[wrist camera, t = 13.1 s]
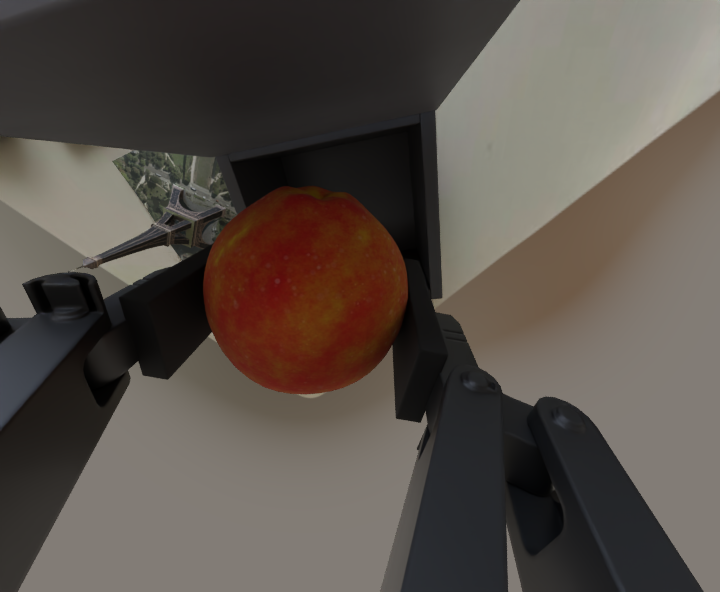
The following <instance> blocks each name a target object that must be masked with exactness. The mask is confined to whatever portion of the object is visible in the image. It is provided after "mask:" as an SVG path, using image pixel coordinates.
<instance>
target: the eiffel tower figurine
mask: <svg viewBox="0 0 720 592" xmlns="http://www.w3.org/2000/svg"><path fill="white" fill-rule="evenodd" d="M112 162H113V163H114V164H115V166H116V167H117V168H118V170H119V171H120V172H121V174H122V175H123V176H124V178H125V179H126V181H127V182H128V183H129V185H130V186H131V187H132V189H133V190H134V192H135V193H136V194H137V196H138V197H139V199H140V200H141V201H142V203H143V204H144V206H145V207H146V209H147V210H148V212H149V213H150V215H151V216H152V218H153V219H154V221H155V222H156V224H151V228H150V229H149V230H147V231H145V232H144V233H142V234H140V235H138V236H137V237H135V238H133V239H131V240H129V241H127V242H125V243H122V244H120V245H118V246H116V247H114V248H112V249H110V250H108V251H106V252H104V253H102V254H99V255H97V256H95V257H87V258H86V259H84V260H83V265H82V266H81V267H88V268H90V269H94V268H97V267H98V266H99V265H100V264H103V263H105V262H108V261H111V260H114V259H117V258H120V257H123V256H126V255H130V254H133V253H136V252H139V251H142V250H145V249H149V248H153V247H157V246H162V245H164V246H167V247H168V246H169V245H170V244H171V246H172V247H173V249H174V250H175V251H176V253H177V254H178V256H179V257H180V258H181V260H182V261H183V260H185V259H186V258H188V257H190V256H192V255H193V254H195V253H197V252H199V251H200V250H202V249H204V248H206V247H207V246H209V245H211V244H213V243H214V242H215V240H216V238H217V237H218V235H219V234H220V233H221V231H222V230H223V229H224V227H225V226H226V225H227V224H228V223H229V222H230V221H231V220H232V219H233V218H234V217H235V216H237V213H236V211H235V208H234V205H233V203H232V200H231V197H230V195H229V192H228V189H227V187H226V184H225V181H224V179H223V176H222V173H221V171H220V168H219V165H218V163H217V160H216V157H211V158H210V157H201V156H191V155H181V154H172V153H162V152H152V151H142V150H134V151H132V152H130V153H128V154H126V155H124V156H122V157H120V158H118V159H116V160H114V161H112ZM81 267H79V268H81ZM79 268H76V269H79ZM76 269H74V270H76ZM74 270H71V271H74ZM71 271H69V272H71ZM69 272H68V273H69Z"/></svg>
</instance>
